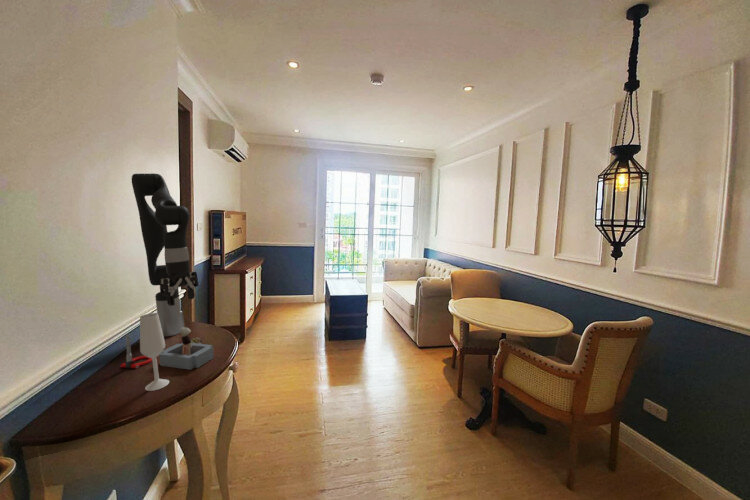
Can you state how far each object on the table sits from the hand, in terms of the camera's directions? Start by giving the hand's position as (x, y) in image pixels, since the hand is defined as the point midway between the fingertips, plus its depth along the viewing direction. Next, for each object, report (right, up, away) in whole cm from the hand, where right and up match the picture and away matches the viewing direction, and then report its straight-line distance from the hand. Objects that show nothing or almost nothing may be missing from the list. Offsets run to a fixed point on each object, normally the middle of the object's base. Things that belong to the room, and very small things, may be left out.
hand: (181, 301), depth 114 cm
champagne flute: (+1, -26, -14) cm, 29 cm away
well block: (+1, -23, +3) cm, 24 cm away
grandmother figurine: (0, -23, +3) cm, 23 cm away
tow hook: (-18, -24, +2) cm, 30 cm away
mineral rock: (-6, -23, +15) cm, 28 cm away
